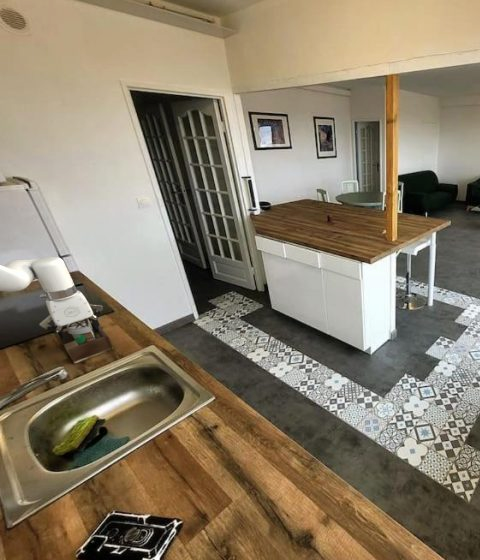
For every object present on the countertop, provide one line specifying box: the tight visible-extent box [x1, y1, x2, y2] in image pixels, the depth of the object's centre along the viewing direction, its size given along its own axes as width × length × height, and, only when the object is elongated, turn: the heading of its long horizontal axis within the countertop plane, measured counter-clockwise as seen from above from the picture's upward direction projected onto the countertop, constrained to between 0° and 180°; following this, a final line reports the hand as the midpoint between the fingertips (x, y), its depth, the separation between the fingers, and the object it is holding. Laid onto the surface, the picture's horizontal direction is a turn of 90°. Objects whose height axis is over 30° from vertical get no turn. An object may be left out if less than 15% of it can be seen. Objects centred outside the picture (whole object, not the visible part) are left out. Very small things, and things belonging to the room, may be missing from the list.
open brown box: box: [58, 321, 114, 364], centre depth 117 cm, size 11×17×6 cm, turn 53°
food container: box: [66, 318, 97, 345], centre depth 115 cm, size 12×6×10 cm, turn 45°
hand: (81, 333), depth 115 cm, fingers open, 8 cm apart
